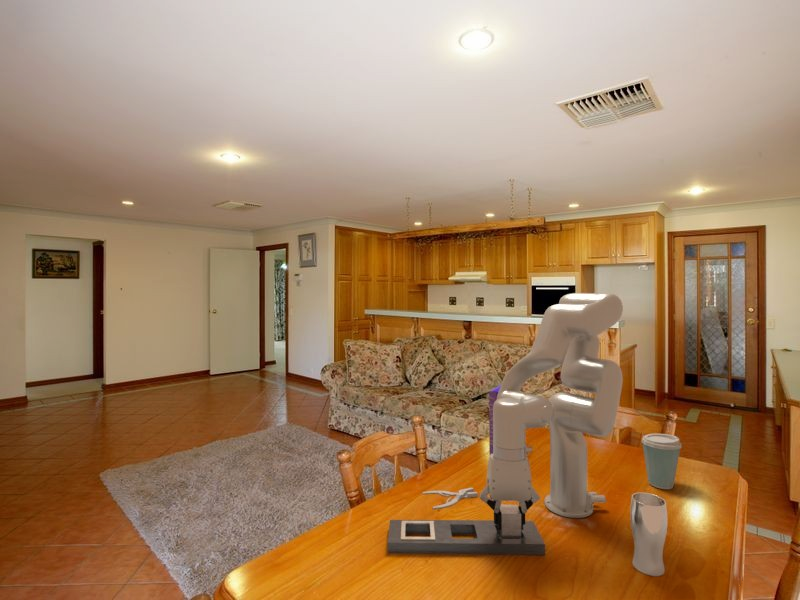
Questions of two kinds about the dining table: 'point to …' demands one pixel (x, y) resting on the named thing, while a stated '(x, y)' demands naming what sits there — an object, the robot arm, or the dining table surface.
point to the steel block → (510, 522)
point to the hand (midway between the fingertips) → (509, 526)
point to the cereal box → (492, 399)
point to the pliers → (461, 494)
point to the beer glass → (648, 532)
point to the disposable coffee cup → (661, 459)
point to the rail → (445, 544)
